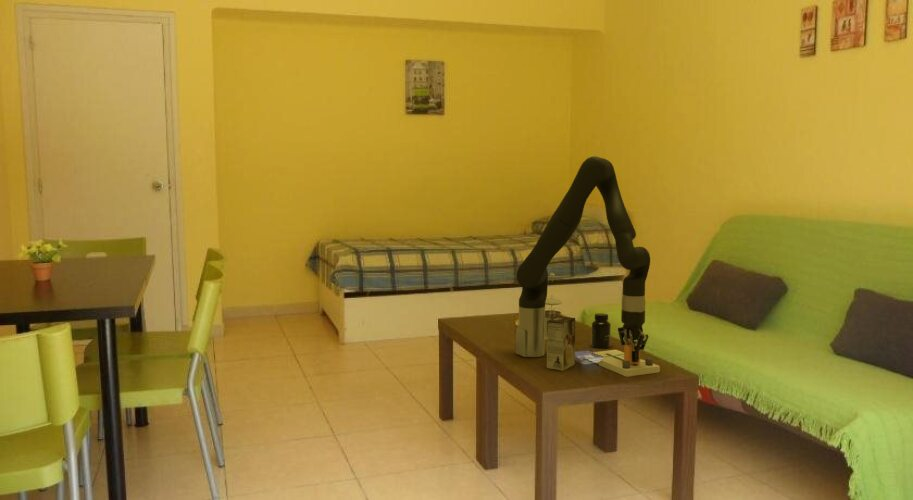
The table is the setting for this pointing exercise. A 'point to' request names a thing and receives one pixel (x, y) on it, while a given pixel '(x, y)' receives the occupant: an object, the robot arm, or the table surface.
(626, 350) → the fader cap
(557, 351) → the coffee box
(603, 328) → the supplement bottle
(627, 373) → the console
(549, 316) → the french press
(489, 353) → the table surface
